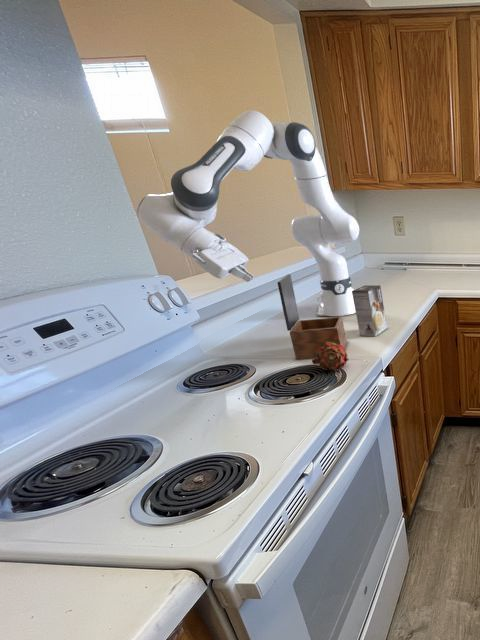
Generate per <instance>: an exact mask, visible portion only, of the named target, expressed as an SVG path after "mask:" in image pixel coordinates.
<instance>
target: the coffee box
mask: <svg viewBox="0 0 480 640" xmlns="http://www.w3.org/2000/svg"><path fill="white" fill-rule="evenodd" d="M352 295H353V300H354V305H355V311H356V313H355V315H356V321H357V326H358V327H357V328H358V331H359V336H362V337H364V336H365V337H377V336H378V335H380V334H381V333H382V332H384V331H385V330H387V329H388V326H387V319H386V313H385V306H384V300H383V294H382V288H381V285H379V284H377V285H362V286H361V287H358V288H356V289H355V290H353V291H352Z"/></svg>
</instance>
